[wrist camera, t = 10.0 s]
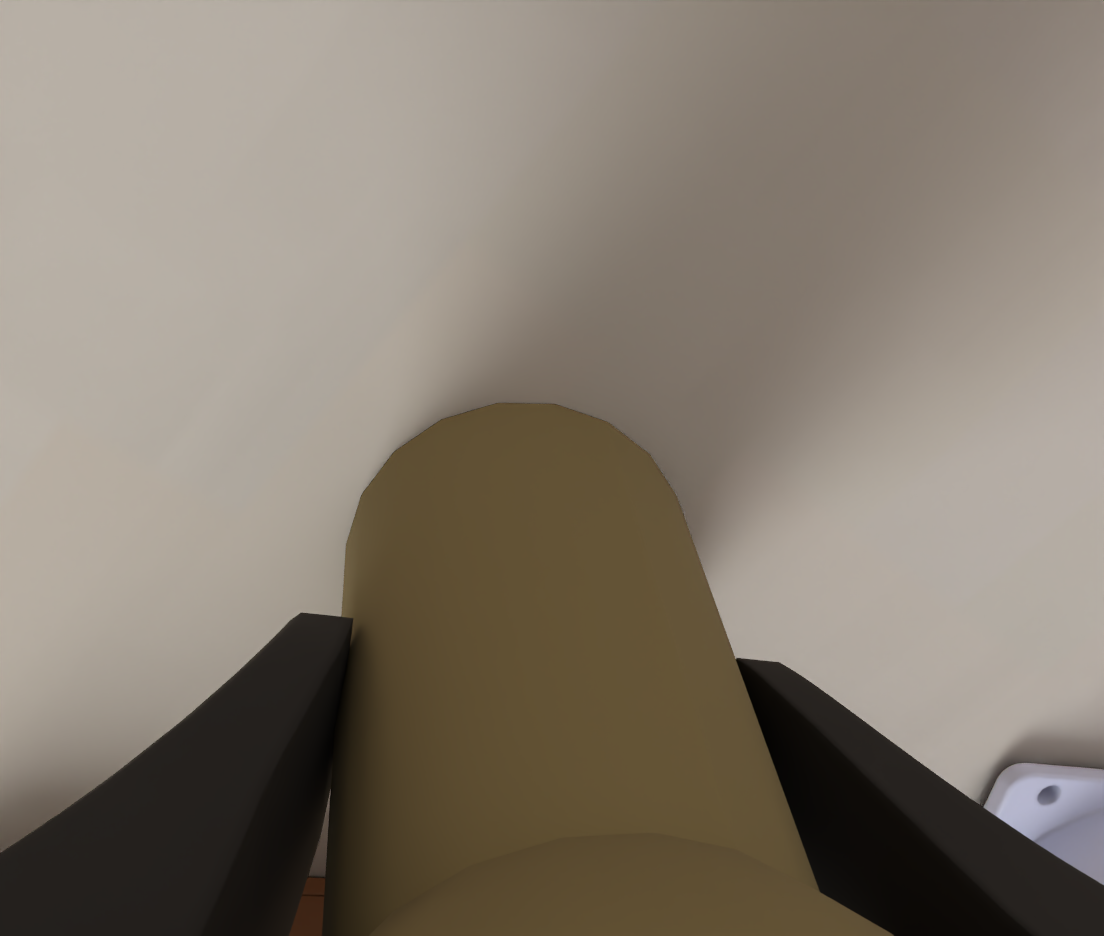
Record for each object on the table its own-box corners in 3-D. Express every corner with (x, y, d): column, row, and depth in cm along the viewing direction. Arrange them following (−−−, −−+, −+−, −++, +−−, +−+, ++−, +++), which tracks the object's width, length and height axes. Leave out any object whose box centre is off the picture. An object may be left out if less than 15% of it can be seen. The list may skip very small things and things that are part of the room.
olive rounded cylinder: (513, 761, 14) (634, 2252, 4) (269, 569, 12) (-825, 2540, 2) (752, 564, 13) (1766, 1831, 3) (529, 323, 11) (1191, 1544, 1)
